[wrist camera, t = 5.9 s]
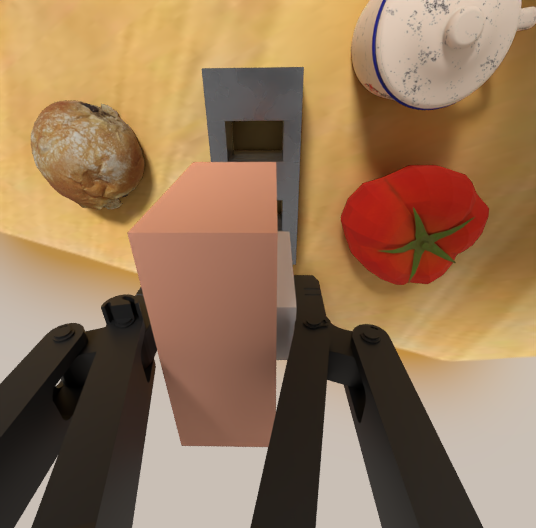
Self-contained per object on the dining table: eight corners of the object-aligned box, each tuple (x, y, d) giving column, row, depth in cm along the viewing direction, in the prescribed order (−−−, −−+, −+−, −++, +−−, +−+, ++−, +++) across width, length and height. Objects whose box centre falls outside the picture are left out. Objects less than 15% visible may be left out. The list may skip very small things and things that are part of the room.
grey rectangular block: (212, 69, 29) (201, 68, 25) (299, 67, 29) (303, 67, 25) (227, 243, 39) (221, 264, 34) (293, 243, 38) (295, 264, 34)
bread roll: (159, 129, 36) (135, 100, 28) (143, 219, 36) (115, 217, 29) (67, 106, 35) (15, 70, 27) (53, 200, 35) (-2, 192, 28)
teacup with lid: (348, 108, 31) (383, 125, 21) (346, -13, 26) (390, -66, 16) (479, 87, 30) (582, 94, 20) (500, -44, 25) (650, -121, 15)
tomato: (335, 266, 40) (349, 311, 32) (332, 165, 34) (349, 192, 26) (449, 254, 39) (491, 297, 31) (469, 147, 32) (528, 170, 25)
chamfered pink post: (204, 149, 18) (127, 232, 8) (275, 149, 18) (277, 232, 8) (219, 293, 23) (181, 445, 14) (275, 294, 23) (275, 446, 14)
